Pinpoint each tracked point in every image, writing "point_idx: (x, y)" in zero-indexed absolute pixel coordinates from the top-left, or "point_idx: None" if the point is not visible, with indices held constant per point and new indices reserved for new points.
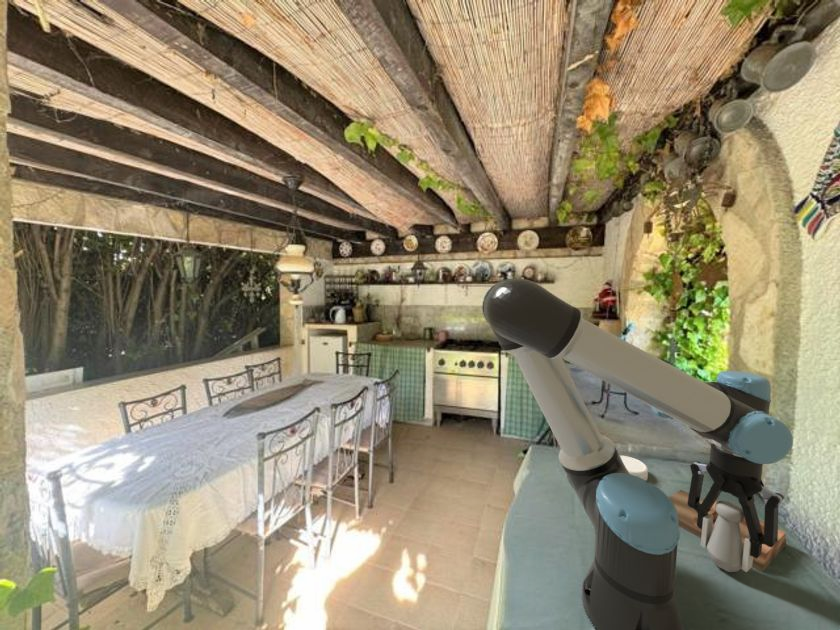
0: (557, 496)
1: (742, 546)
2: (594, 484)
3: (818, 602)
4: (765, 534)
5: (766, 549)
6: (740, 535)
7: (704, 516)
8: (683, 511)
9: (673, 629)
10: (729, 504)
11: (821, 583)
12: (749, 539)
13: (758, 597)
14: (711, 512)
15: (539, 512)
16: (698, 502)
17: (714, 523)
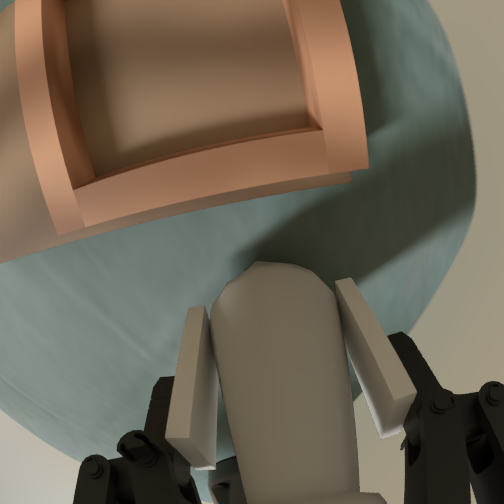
0: (12, 400)
1: (344, 355)
2: None
3: (456, 158)
4: (471, 468)
5: (353, 118)
6: (354, 421)
7: (188, 463)
8: (12, 173)
9: None
10: None
11: (433, 44)
12: (396, 427)
13: (371, 305)
14: (43, 92)
15: (65, 444)
16: (119, 489)
17: (89, 97)
